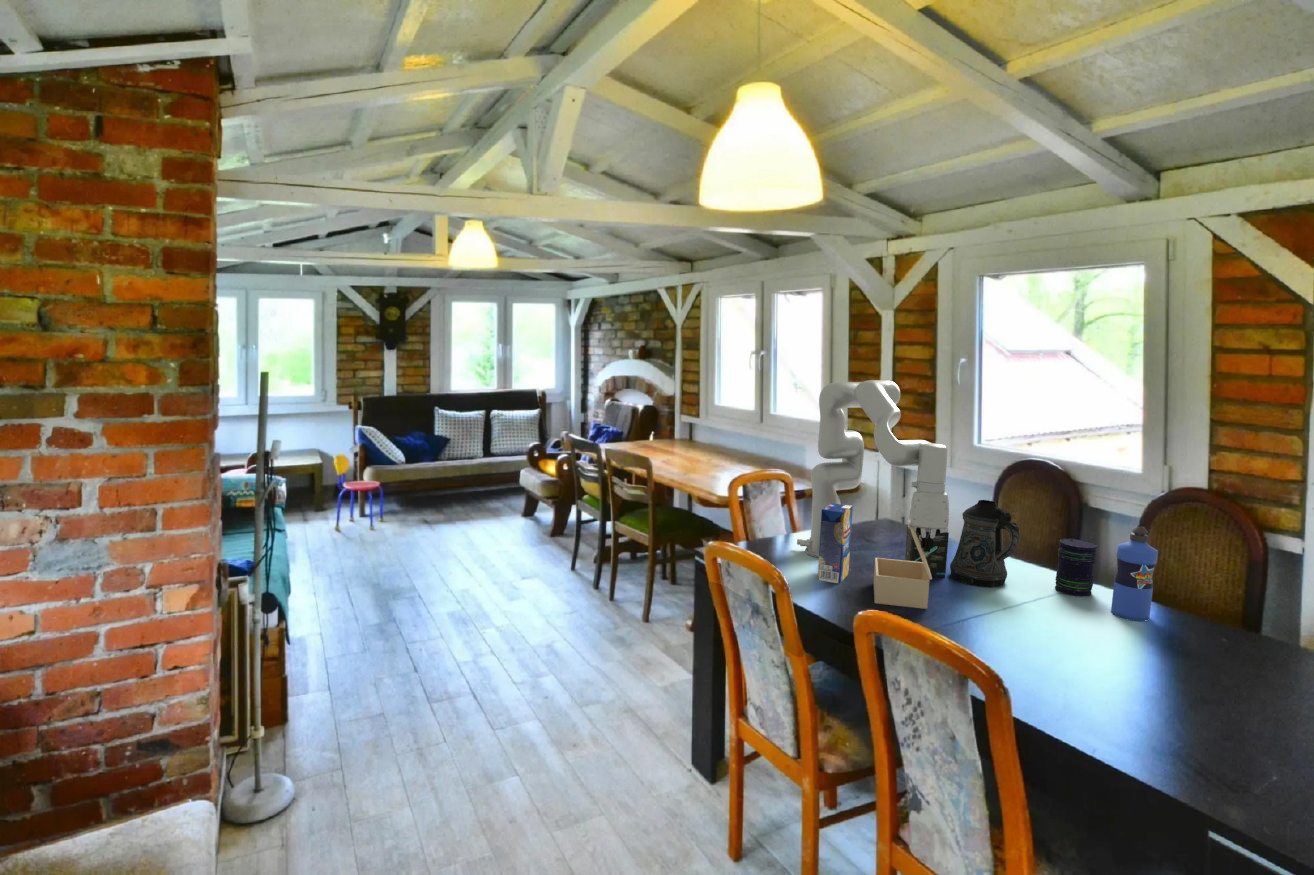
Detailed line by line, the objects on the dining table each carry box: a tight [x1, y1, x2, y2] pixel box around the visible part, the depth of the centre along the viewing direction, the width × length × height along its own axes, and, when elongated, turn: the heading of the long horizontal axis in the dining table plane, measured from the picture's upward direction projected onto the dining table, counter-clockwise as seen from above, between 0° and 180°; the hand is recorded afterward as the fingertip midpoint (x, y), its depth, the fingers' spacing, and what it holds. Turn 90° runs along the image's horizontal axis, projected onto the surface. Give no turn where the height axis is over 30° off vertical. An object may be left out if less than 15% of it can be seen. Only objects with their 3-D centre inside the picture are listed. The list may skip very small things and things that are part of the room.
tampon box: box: [904, 523, 950, 578], centre depth 239 cm, size 11×9×15 cm
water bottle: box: [1110, 525, 1159, 622], centre depth 205 cm, size 9×9×25 cm
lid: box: [907, 518, 933, 581], centre depth 214 cm, size 13×18×1 cm
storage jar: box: [1054, 538, 1098, 598], centre depth 224 cm, size 10×10×15 cm
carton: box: [873, 557, 930, 610], centre depth 217 cm, size 14×18×8 cm
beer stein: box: [949, 499, 1022, 588], centre depth 232 cm, size 16×19×25 cm
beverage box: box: [817, 503, 854, 584], centre depth 231 cm, size 7×11×22 cm, turn 153°
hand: (926, 550), depth 214 cm, fingers closed
